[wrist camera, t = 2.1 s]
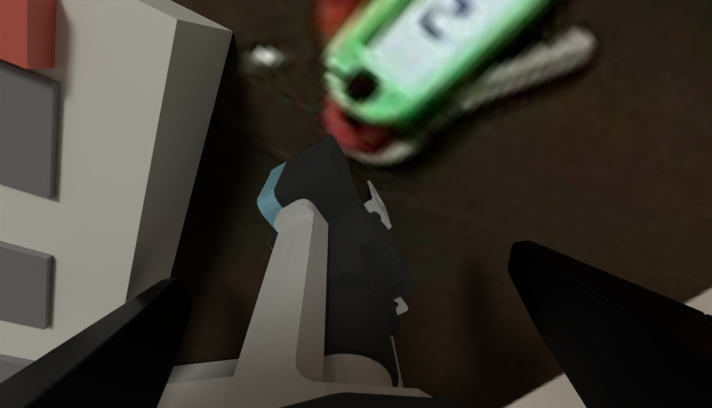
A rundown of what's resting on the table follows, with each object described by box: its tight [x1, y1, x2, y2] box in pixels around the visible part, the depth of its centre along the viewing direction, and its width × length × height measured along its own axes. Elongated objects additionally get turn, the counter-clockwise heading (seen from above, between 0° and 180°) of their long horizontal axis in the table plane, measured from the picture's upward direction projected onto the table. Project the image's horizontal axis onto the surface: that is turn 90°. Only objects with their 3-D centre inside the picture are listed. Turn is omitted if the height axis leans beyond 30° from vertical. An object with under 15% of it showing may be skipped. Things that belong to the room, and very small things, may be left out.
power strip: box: [0, 0, 233, 383], centre depth 8 cm, size 14×5×4 cm, turn 155°
